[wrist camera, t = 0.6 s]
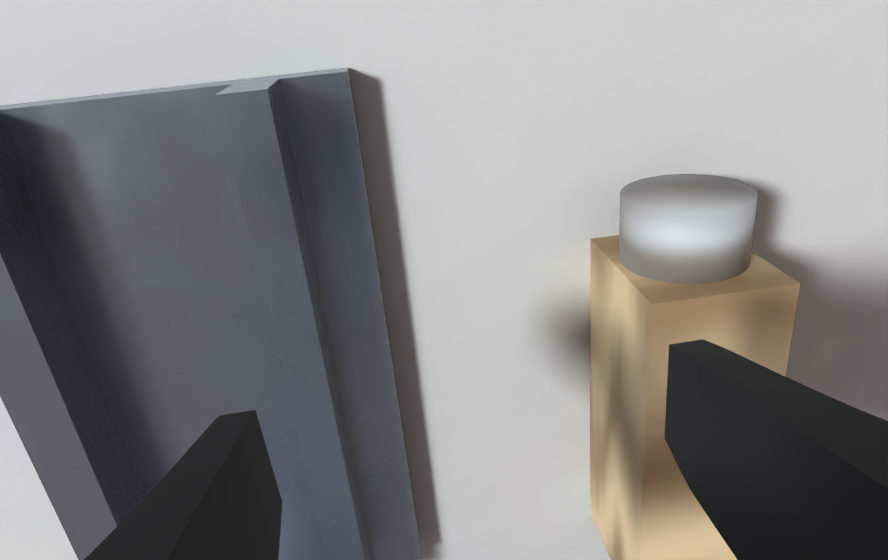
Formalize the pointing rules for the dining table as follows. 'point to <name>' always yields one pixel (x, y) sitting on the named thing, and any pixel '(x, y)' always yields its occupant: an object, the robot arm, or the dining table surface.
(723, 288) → the block
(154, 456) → the cradle
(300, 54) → the dining table surface
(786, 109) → the dining table surface
